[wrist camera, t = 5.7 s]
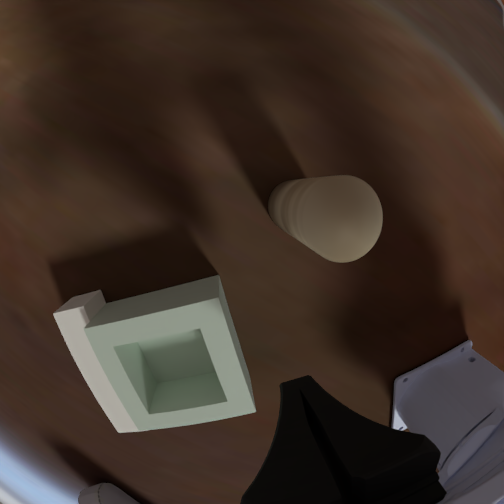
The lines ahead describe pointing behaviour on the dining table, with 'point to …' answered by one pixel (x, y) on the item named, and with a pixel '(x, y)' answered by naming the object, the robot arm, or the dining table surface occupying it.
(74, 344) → the backstop wall
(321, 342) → the dining table surface
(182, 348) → the socket block
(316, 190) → the dowel
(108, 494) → the decorative item
